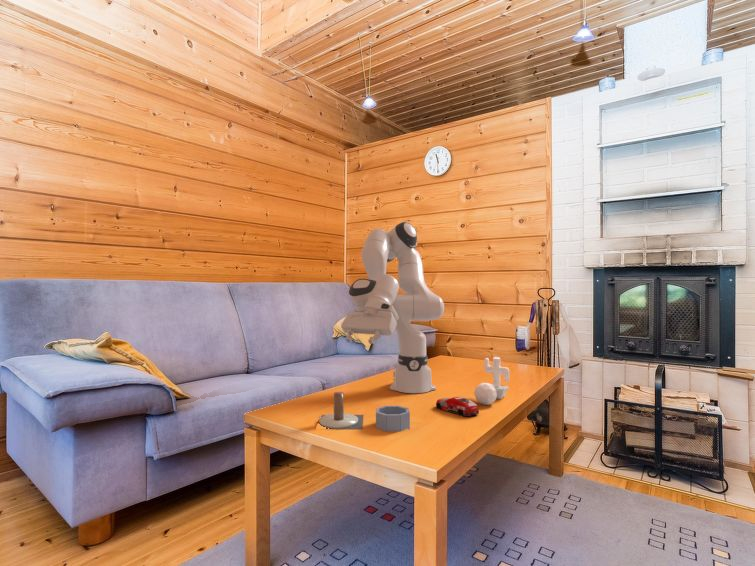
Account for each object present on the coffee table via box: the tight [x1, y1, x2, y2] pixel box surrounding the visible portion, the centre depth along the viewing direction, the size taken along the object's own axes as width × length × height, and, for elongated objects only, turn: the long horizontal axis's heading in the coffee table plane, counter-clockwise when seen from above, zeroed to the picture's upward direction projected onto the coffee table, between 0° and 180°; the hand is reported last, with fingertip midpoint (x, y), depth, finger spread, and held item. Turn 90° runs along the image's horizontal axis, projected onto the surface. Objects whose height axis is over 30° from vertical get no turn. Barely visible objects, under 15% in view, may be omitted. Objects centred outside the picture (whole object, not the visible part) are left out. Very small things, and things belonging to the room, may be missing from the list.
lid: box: [318, 391, 358, 430], centre depth 132 cm, size 12×12×9 cm
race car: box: [435, 396, 480, 417], centre depth 145 cm, size 16×7×5 cm, turn 37°
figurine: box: [483, 356, 510, 400], centre depth 164 cm, size 7×9×15 cm
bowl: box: [375, 405, 411, 432], centre depth 129 cm, size 10×10×5 cm
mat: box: [321, 414, 364, 430], centre depth 133 cm, size 14×14×1 cm
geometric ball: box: [473, 382, 497, 406], centre depth 154 cm, size 8×8×8 cm
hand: (359, 342), depth 143 cm, fingers open, 8 cm apart
